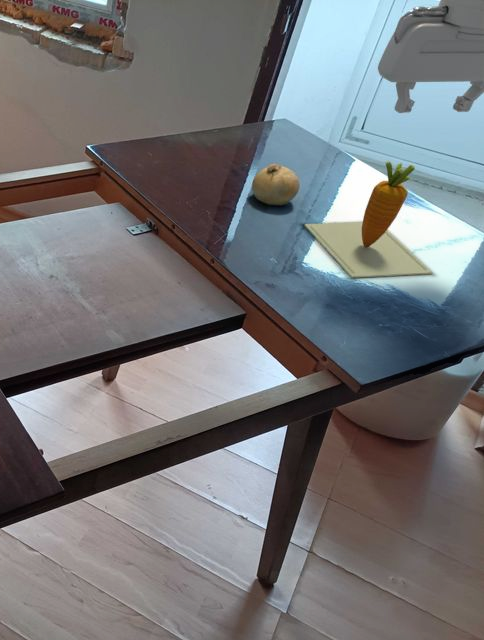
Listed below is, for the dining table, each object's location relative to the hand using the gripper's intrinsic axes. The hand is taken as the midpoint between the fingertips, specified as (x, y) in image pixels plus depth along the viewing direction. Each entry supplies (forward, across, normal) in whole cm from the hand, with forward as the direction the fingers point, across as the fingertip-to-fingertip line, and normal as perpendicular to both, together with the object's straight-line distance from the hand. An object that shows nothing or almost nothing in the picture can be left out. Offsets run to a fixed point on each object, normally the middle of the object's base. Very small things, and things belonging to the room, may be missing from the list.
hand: (431, 111), depth 99 cm
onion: (+23, -10, +18) cm, 31 cm away
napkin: (+23, -1, +1) cm, 23 cm away
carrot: (+23, -1, +1) cm, 23 cm away
